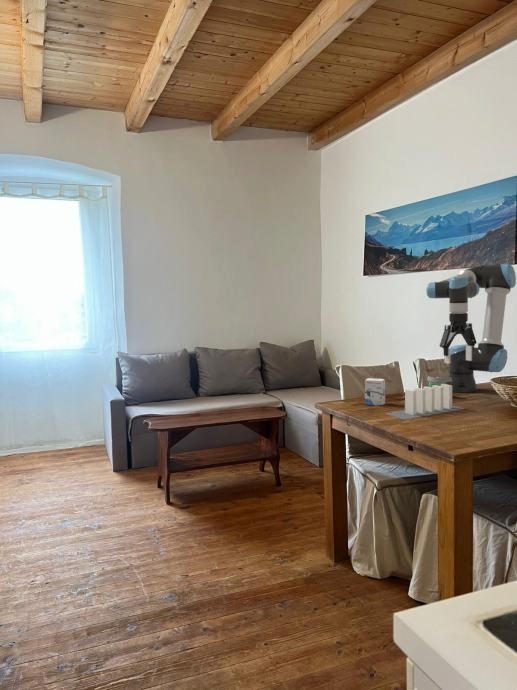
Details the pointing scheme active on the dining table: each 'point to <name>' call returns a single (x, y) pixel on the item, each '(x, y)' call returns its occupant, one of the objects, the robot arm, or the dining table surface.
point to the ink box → (374, 391)
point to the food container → (438, 381)
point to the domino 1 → (410, 401)
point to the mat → (407, 416)
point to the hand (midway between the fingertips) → (458, 361)
